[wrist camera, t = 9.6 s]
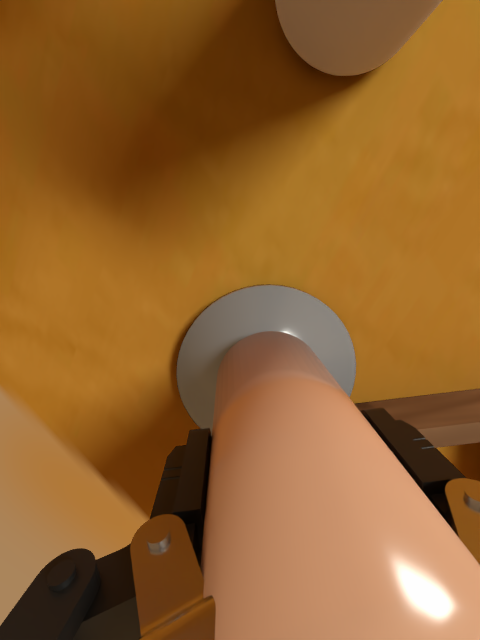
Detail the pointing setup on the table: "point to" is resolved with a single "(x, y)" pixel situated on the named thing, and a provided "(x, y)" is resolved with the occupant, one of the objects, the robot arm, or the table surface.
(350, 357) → the grey dome disc
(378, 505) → the peach cylinder with handle
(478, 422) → the wooden u-shaped frame
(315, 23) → the beverage can
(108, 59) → the table surface
